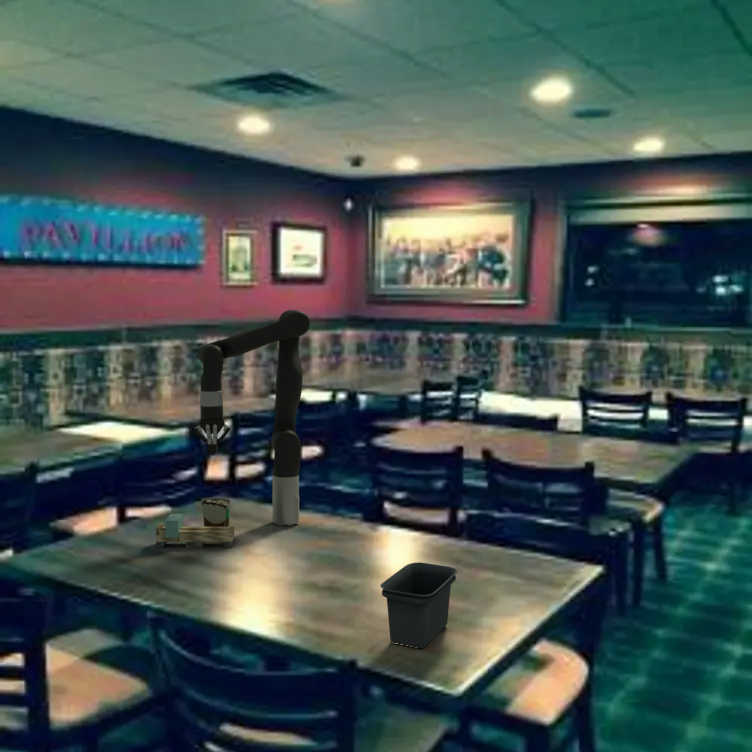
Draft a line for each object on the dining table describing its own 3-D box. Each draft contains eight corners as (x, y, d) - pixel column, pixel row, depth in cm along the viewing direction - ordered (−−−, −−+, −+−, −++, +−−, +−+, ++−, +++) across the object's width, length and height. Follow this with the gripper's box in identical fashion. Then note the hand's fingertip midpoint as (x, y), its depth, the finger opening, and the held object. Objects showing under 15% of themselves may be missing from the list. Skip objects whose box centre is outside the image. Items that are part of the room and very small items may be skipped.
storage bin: (428, 657, 191) (430, 595, 190) (366, 644, 198) (367, 585, 197) (460, 624, 211) (461, 568, 209) (402, 613, 217) (403, 559, 216)
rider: (183, 529, 277) (183, 513, 277) (178, 537, 269) (177, 520, 268) (170, 529, 277) (170, 513, 277) (165, 537, 268) (165, 520, 268)
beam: (234, 542, 277) (234, 522, 277) (231, 548, 271) (231, 528, 270) (160, 541, 276) (160, 522, 276) (155, 547, 270) (155, 528, 269)
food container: (239, 528, 293) (239, 500, 292) (227, 532, 288) (227, 503, 287) (213, 523, 299) (213, 495, 298) (201, 527, 294) (200, 498, 293)
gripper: (232, 402, 289) (233, 452, 291) (193, 402, 289) (194, 452, 290) (230, 405, 282) (231, 456, 284) (189, 405, 281) (191, 457, 283)
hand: (212, 454), depth 287 cm, fingers closed
